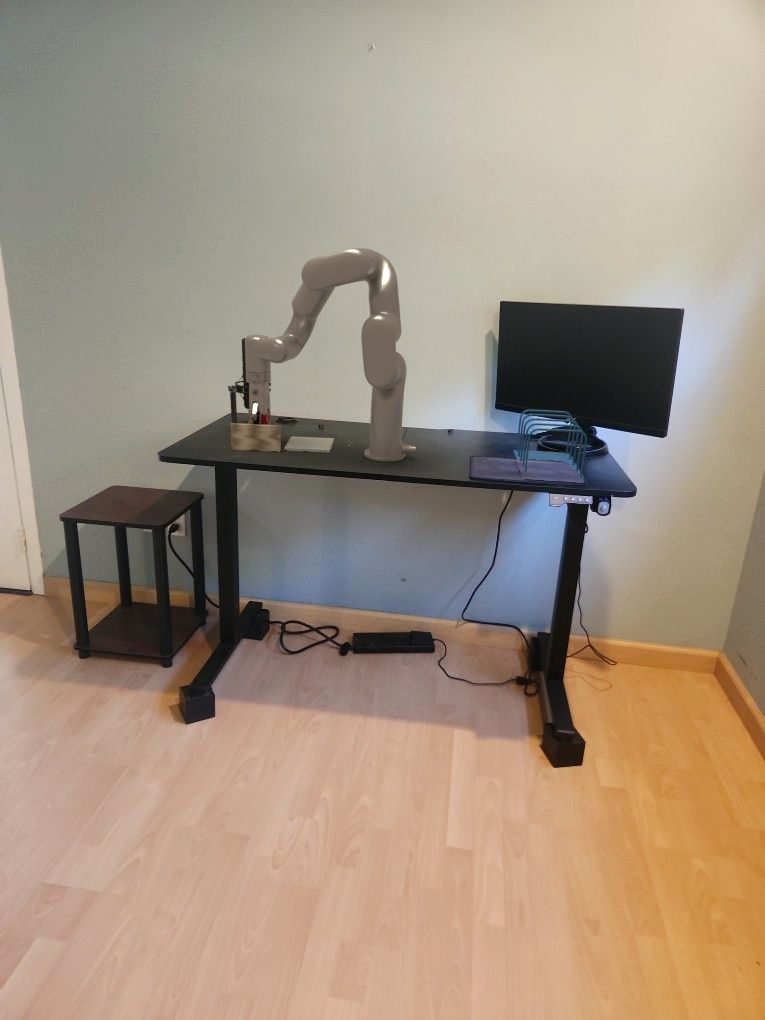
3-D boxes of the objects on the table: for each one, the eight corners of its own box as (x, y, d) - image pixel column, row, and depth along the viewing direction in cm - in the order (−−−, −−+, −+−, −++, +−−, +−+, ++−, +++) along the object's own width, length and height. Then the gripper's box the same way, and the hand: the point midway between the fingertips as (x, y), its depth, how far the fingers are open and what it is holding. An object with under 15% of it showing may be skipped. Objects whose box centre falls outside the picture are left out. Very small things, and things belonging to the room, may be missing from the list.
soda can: (266, 446, 204) (265, 408, 200) (245, 444, 206) (244, 406, 201) (274, 440, 211) (273, 403, 207) (254, 438, 212) (252, 402, 208)
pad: (333, 440, 214) (334, 438, 213) (329, 452, 201) (329, 450, 200) (291, 438, 214) (291, 436, 214) (284, 450, 201) (284, 448, 200)
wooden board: (280, 450, 200) (280, 425, 198) (280, 451, 199) (279, 426, 196) (232, 448, 201) (231, 423, 198) (231, 449, 199) (230, 424, 196)
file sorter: (512, 455, 207) (518, 407, 201) (568, 459, 206) (575, 411, 200) (521, 480, 184) (528, 427, 178) (583, 484, 183) (592, 431, 177)
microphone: (266, 434, 218) (264, 342, 207) (227, 431, 219) (223, 340, 208) (277, 424, 231) (276, 337, 220) (240, 421, 232) (237, 335, 221)
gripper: (265, 382, 193) (266, 440, 199) (275, 372, 209) (276, 426, 215) (239, 381, 193) (242, 439, 199) (252, 371, 209) (253, 425, 215)
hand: (259, 432), depth 207 cm, fingers closed on soda can, 6 cm apart
